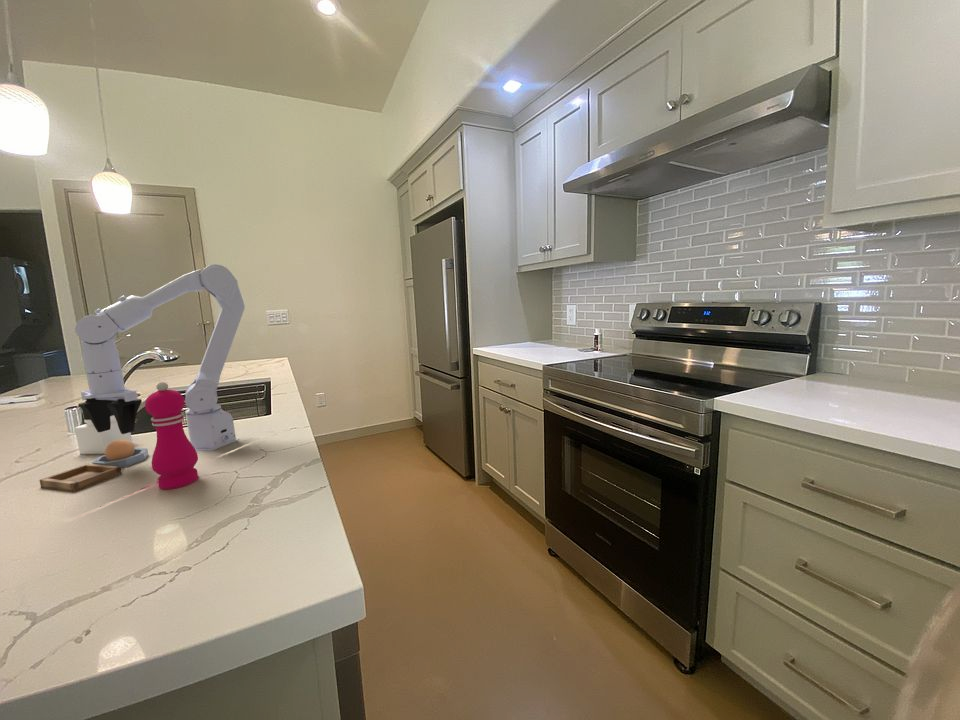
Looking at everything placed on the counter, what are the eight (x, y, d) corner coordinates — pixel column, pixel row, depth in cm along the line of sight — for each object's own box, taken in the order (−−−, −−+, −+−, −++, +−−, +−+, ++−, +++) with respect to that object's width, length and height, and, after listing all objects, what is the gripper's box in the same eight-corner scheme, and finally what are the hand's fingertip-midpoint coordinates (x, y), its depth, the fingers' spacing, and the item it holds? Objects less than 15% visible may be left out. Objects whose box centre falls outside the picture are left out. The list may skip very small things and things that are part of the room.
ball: (141, 458, 94) (137, 437, 93) (117, 466, 89) (112, 444, 88) (126, 456, 95) (122, 435, 94) (101, 465, 90) (97, 443, 90)
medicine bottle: (133, 444, 105) (125, 399, 104) (106, 455, 98) (96, 406, 97) (108, 445, 106) (99, 400, 104) (79, 455, 99) (69, 407, 97)
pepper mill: (177, 491, 76) (158, 386, 73) (145, 490, 78) (126, 386, 75) (210, 475, 83) (194, 378, 80) (180, 473, 85) (163, 378, 82)
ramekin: (156, 457, 95) (155, 449, 95) (113, 473, 87) (111, 464, 86) (130, 455, 98) (128, 447, 97) (85, 470, 89) (84, 461, 89)
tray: (122, 475, 85) (120, 466, 85) (75, 494, 78) (72, 484, 77) (90, 472, 88) (88, 463, 88) (41, 489, 81) (39, 479, 80)
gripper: (59, 374, 87) (72, 436, 89) (105, 375, 83) (118, 439, 85) (98, 368, 94) (109, 426, 96) (143, 368, 90) (153, 428, 92)
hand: (115, 431), depth 91 cm, fingers open, 7 cm apart
